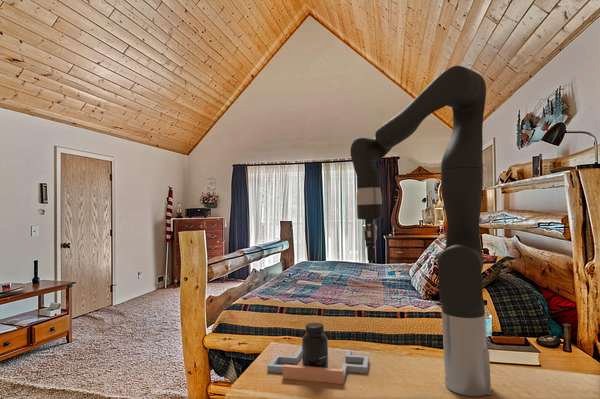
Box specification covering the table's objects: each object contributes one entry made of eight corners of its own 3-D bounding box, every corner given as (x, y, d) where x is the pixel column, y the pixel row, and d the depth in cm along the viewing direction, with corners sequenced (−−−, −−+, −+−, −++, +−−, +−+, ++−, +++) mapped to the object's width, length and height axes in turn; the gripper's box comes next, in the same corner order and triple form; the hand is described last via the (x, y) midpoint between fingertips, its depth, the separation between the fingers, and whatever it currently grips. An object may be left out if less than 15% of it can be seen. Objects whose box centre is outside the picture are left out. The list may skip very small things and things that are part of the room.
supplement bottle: (326, 377, 90) (324, 329, 90) (299, 375, 91) (298, 328, 92) (330, 366, 96) (329, 321, 97) (305, 364, 98) (304, 320, 99)
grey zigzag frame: (369, 356, 102) (369, 345, 103) (365, 386, 85) (364, 373, 85) (284, 350, 109) (284, 340, 109) (263, 376, 91) (263, 364, 92)
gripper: (381, 202, 101) (383, 263, 100) (382, 203, 113) (384, 258, 113) (354, 203, 103) (356, 263, 102) (358, 204, 115) (360, 258, 115)
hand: (371, 260), depth 107 cm, fingers closed
